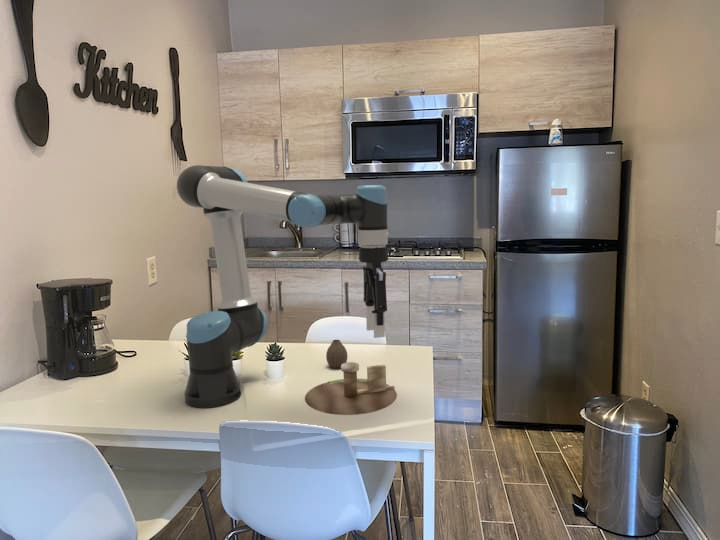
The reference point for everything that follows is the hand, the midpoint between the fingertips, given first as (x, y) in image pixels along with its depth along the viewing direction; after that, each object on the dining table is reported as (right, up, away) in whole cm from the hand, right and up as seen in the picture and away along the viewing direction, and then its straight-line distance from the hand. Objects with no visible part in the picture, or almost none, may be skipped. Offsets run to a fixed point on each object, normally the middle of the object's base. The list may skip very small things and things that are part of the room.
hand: (375, 333), depth 132 cm
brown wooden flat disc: (-7, -19, +5) cm, 20 cm away
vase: (-12, -15, +33) cm, 38 cm away
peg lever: (-2, -17, +6) cm, 18 cm away
